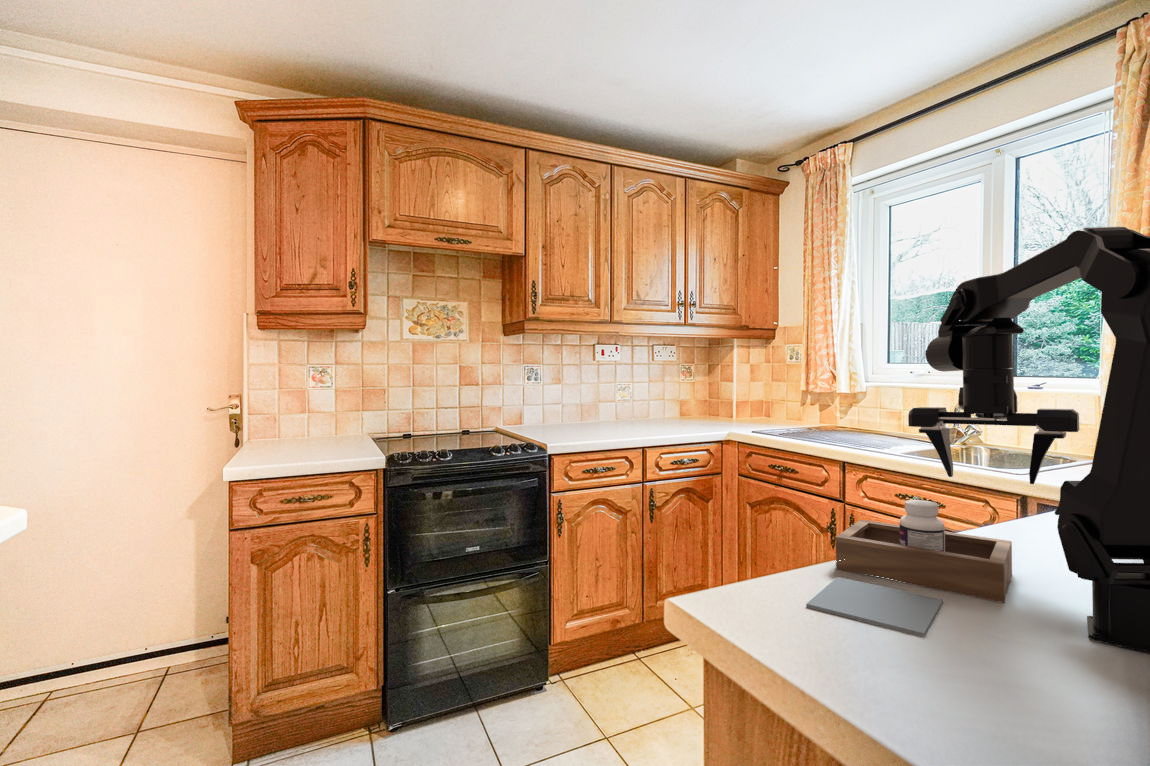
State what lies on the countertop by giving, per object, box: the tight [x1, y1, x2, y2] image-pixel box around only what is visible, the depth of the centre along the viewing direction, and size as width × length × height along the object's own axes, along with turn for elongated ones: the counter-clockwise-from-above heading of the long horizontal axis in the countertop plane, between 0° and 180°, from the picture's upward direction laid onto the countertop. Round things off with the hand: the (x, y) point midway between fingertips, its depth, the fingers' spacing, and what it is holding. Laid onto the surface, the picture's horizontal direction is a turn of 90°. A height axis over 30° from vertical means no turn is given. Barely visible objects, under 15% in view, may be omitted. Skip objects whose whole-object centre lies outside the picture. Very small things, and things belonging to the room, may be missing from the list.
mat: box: [805, 576, 944, 638], centre depth 66 cm, size 12×12×1 cm
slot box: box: [835, 519, 1013, 603], centre depth 77 cm, size 13×19×5 cm
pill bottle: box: [899, 499, 946, 552], centre depth 77 cm, size 5×5×10 cm
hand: (989, 480), depth 77 cm, fingers open, 9 cm apart
